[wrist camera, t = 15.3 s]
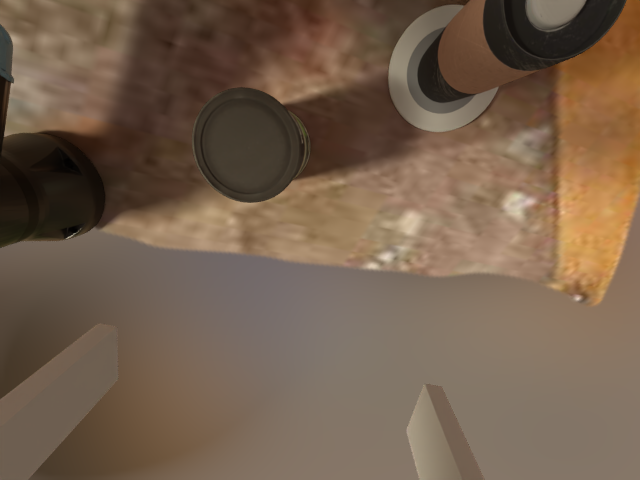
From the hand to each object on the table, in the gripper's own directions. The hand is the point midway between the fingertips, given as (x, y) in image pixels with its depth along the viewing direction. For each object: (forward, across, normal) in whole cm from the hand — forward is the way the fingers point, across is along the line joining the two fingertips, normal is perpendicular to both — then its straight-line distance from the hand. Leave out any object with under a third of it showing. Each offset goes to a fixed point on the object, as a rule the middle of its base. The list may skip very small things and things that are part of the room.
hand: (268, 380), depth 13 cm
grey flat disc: (+33, +13, +21) cm, 41 cm away
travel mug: (+32, +13, +21) cm, 40 cm away
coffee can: (+33, -7, +8) cm, 35 cm away
